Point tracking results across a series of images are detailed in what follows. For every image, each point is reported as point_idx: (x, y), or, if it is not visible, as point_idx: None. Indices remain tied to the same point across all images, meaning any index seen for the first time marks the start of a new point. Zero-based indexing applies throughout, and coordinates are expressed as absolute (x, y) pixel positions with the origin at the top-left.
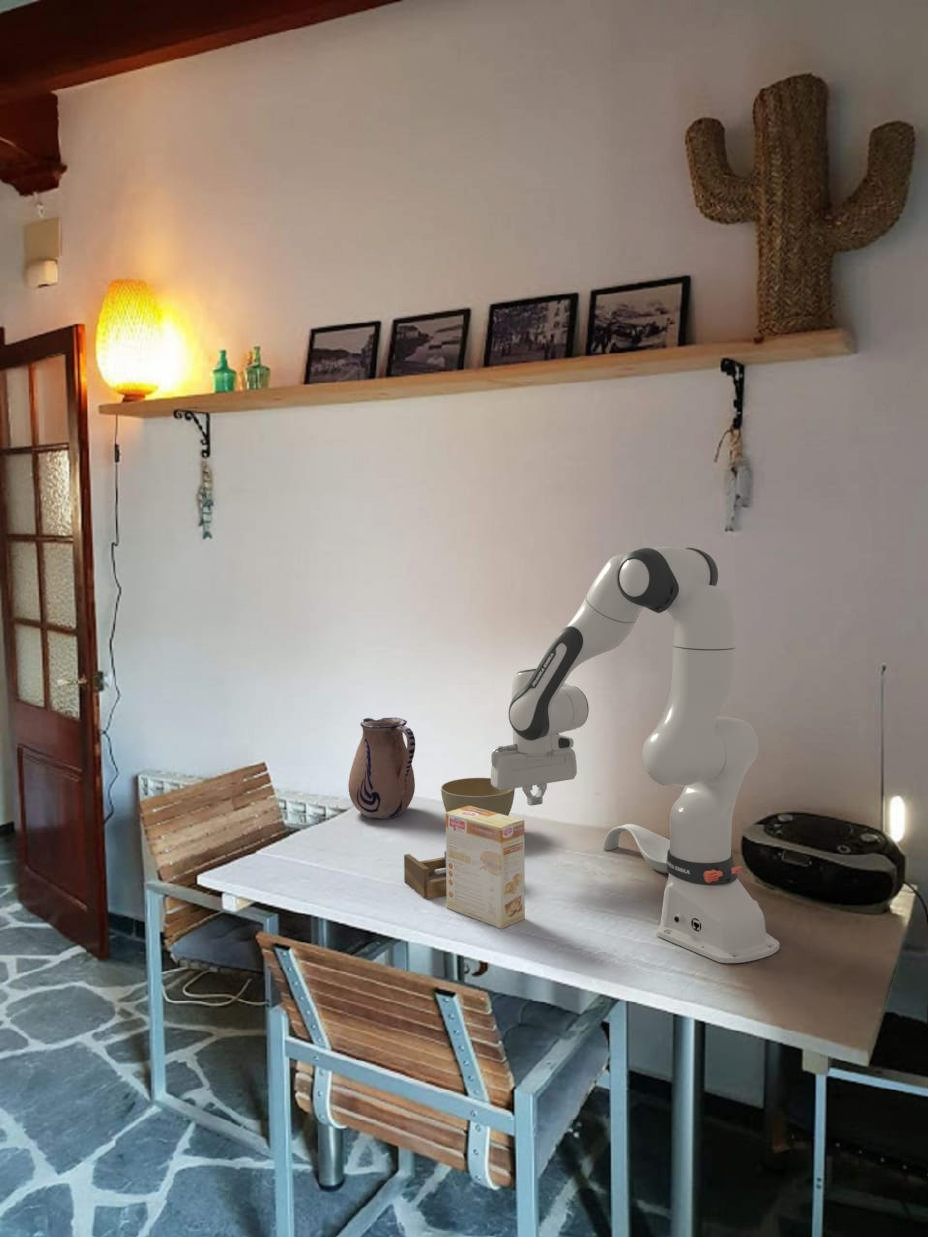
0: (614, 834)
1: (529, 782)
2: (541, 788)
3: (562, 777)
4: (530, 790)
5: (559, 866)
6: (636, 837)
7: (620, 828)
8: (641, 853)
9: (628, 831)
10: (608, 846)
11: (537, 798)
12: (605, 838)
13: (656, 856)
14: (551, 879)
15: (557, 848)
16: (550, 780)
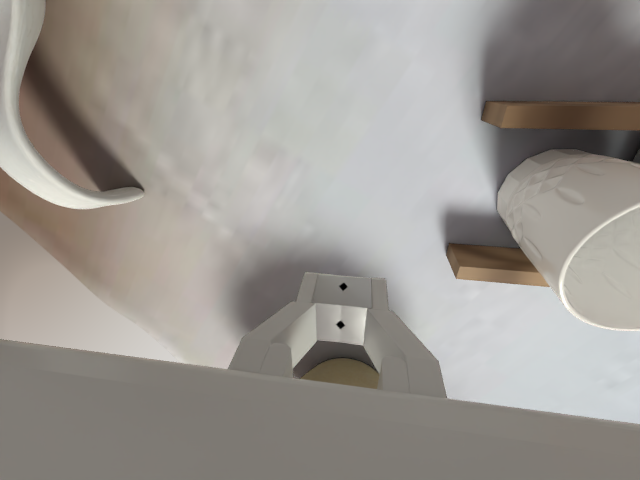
0: (84, 188)
1: (462, 438)
2: (288, 350)
3: (35, 373)
4: (401, 360)
5: (292, 155)
6: (3, 67)
7: (45, 165)
8: (34, 10)
9: (22, 127)
10: (126, 188)
11: (337, 298)
12: (118, 201)
13: (6, 27)
14: (370, 70)
15: (240, 256)
16: (179, 382)
